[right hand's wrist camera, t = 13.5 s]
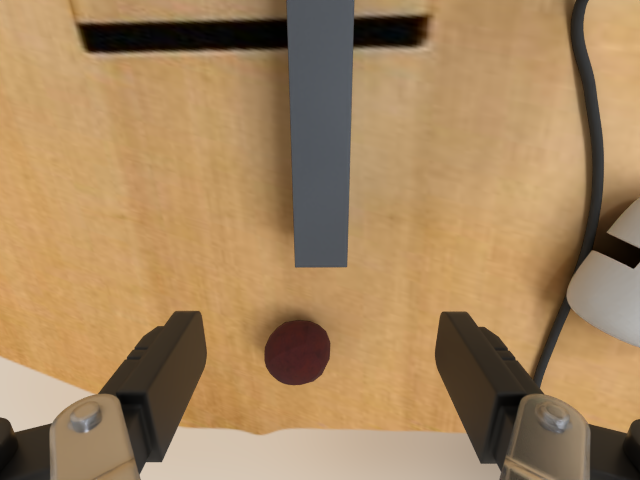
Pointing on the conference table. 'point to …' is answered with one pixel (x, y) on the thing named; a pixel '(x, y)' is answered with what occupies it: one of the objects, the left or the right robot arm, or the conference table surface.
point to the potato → (297, 352)
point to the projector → (611, 285)
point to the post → (320, 127)
